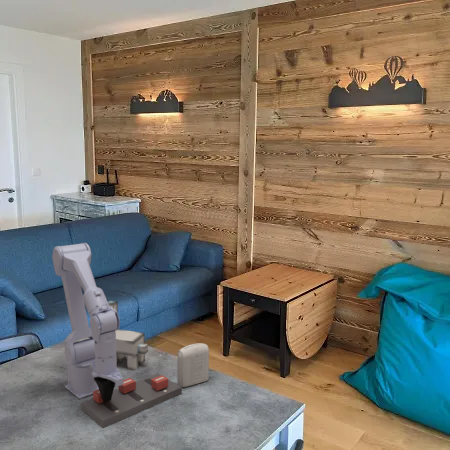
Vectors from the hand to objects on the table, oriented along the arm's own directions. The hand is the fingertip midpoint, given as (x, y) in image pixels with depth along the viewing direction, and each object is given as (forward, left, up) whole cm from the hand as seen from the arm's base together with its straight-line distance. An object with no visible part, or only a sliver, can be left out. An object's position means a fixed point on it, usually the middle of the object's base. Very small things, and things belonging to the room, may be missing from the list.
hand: (106, 400), depth 134 cm
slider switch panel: (+1, +8, -3) cm, 9 cm away
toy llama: (-22, +19, -3) cm, 30 cm away
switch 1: (-3, 0, -1) cm, 3 cm away
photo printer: (+4, +28, -3) cm, 28 cm away
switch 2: (-2, +8, -1) cm, 8 cm away
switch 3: (+3, +16, -1) cm, 16 cm away
